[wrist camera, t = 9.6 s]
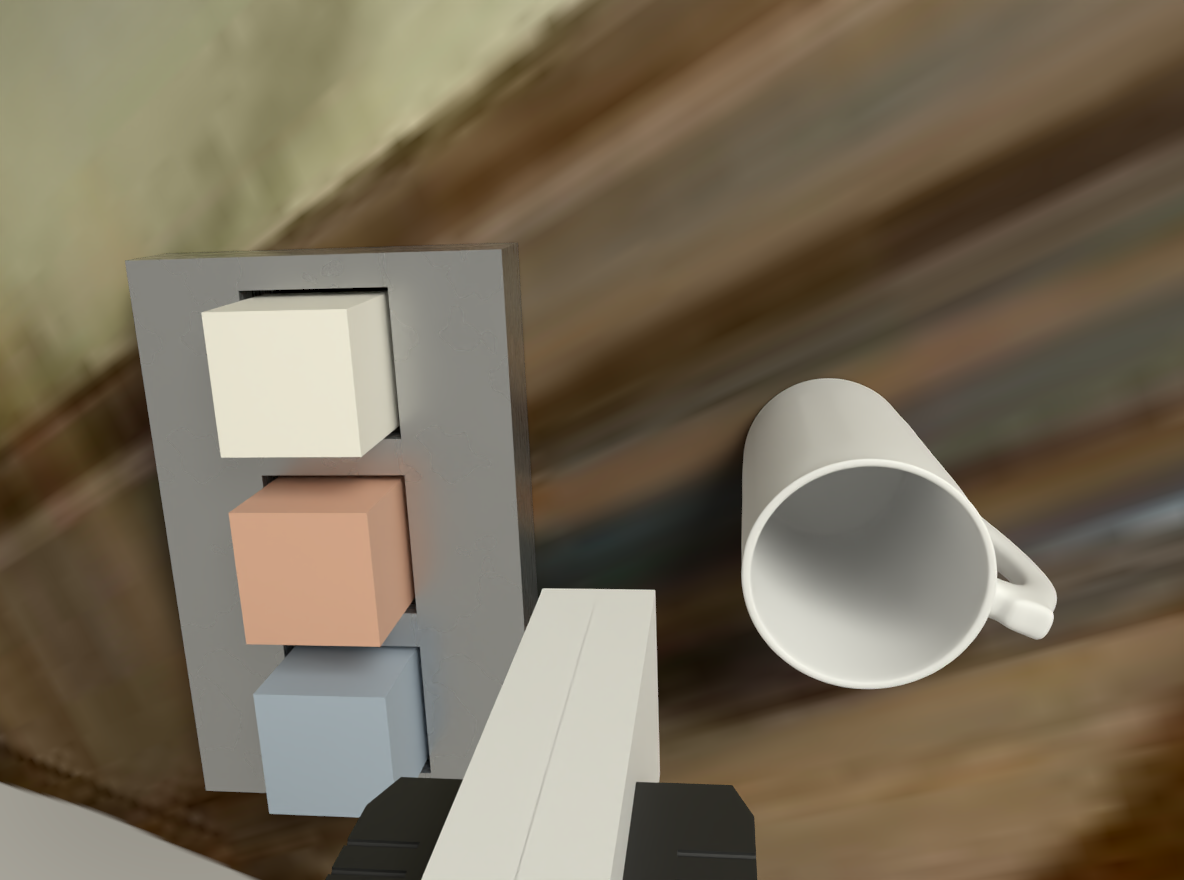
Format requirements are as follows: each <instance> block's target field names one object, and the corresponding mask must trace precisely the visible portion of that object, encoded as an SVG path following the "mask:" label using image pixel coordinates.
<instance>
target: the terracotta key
mask: <svg viewBox="0 0 1184 880" xmlns="http://www.w3.org/2000/svg"><path fill="white" fill-rule="evenodd" d="M229 520H230V528H231V535H232V542H233V550H234V557H235V564H236V572H237V579H238V587H239V594H240V601H241V609H242V616H243V623H244V631H245V638H246V644H260V645H312V646H363V647H381V645H382V644H383V642H384V641H385V639H386V638H387V637H388V635H389V634H390V632H391V631H392V629H393V628H394V627H395V625H396V624H397V622H398V621H399V619H400V618H401V617H402V615H403V614H404V612H405V611H406V609H407V608H408V607H409V605H410V604H411V602H412V601H413V599H414V598H415V587H414V576H413V565H412V554H411V542H410V531H409V520H408V509H407V498H406V486H405V475H281V476H279V477H278V478H276V479H275V480H274V481H272V482H271V483H269V484H268V485H267V486H265V487H264V488H262V489H261V490H260V491H258V492H257V493H256V494H254V495H253V496H251V497H250V498H249V499H247V500H246V501H244V502H243V503H242V504H240V505H239V506H237V507H236V508H235V509H233V510H232V511H230V512H229Z"/></svg>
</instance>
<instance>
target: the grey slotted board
mask: <svg viewBox="0 0 1184 880" xmlns="http://www.w3.org/2000/svg"><path fill="white" fill-rule="evenodd" d="M125 264H126V270H127V277H128V283H129V290H130V297H131V303H132V310H133V316H134V323H135V329H136V336H137V342H138V349H139V355H140V362H141V368H142V375H143V381H144V388H145V395H146V401H147V408H148V414H149V421H150V427H151V434H152V440H153V447H154V453H155V460H156V466H157V473H158V480H159V486H160V493H161V499H162V506H163V512H164V519H165V525H166V532H167V538H168V545H169V551H170V558H171V565H172V571H173V578H174V584H175V591H176V597H177V604H178V610H179V617H180V623H181V630H182V636H183V643H184V649H185V656H186V663H187V669H188V676H189V682H190V689H191V695H192V702H193V708H194V715H195V721H196V728H197V734H198V741H199V748H200V754H201V761H202V767H203V774H204V780H205V787H206V791H228V792H254V793H266V785H265V778H264V770H263V763H262V756H261V748H260V741H259V734H258V726H257V719H256V712H255V704H254V697H253V694H254V693H255V692H256V690H257V689H258V688H259V687H260V686H261V685H262V684H263V683H264V681H265V680H266V679H267V678H268V677H269V676H270V675H271V673H272V672H273V671H274V670H275V669H276V668H277V667H278V665H279V664H280V663H281V662H282V661H283V660H284V659H285V657H286V656H287V655H288V654H289V653H290V652H291V651H292V649H293V648H294V647H295V646H296V645H260V644H246V638H245V631H244V623H243V616H242V609H241V601H240V594H239V587H238V579H237V572H236V564H235V557H234V550H233V542H232V535H231V528H230V520H229V512H230V511H232V510H233V509H235V508H236V507H237V506H239V505H240V504H242V503H243V502H244V501H246V500H247V499H249V498H250V497H251V496H253V495H254V494H256V493H257V492H258V491H260V490H261V489H262V488H264V487H265V486H267V485H268V484H269V483H271V482H272V481H274V480H275V479H276V478H278V477H279V476H281V475H405V486H406V498H407V509H408V520H409V531H410V542H411V554H412V565H413V576H414V587H415V598H414V599H413V601H412V602H411V604H410V605H409V607H408V608H407V609H406V611H405V612H404V614H403V615H402V617H401V618H400V619H399V621H398V622H397V624H396V625H395V627H394V628H393V629H392V631H391V632H390V634H389V635H388V637H387V638H386V639H385V641H384V642H383V644H382V645H381V646H409V647H420V655H421V666H422V677H423V688H424V699H425V711H426V722H427V733H428V744H429V756H428V758H427V760H426V762H425V764H424V766H423V768H422V770H421V772H420V774H419V776H418V778H443V779H463V778H464V776H465V774H466V771H467V769H468V766H469V764H470V762H471V759H472V757H473V755H474V752H475V750H476V747H477V745H478V743H479V740H480V738H481V735H482V733H483V731H484V728H485V726H486V723H487V721H488V719H489V716H490V714H491V711H492V709H493V707H494V704H495V702H496V699H497V697H498V695H499V692H500V690H501V688H502V685H503V683H504V680H505V678H506V676H507V673H508V671H509V668H510V666H511V664H512V661H513V659H514V656H515V654H516V652H517V649H518V647H519V644H520V642H521V640H522V637H523V635H524V632H525V630H526V628H527V625H528V623H529V621H530V618H531V616H532V613H533V611H534V609H535V606H536V604H537V601H538V593H537V575H536V557H535V540H534V522H533V504H532V487H531V469H530V451H529V434H528V416H527V398H526V381H525V363H524V345H523V327H522V310H521V292H520V274H519V257H518V243H489V244H457V245H425V246H393V247H361V248H328V249H296V250H264V251H232V252H200V253H167V254H161V255H155V256H150V257H144V258H138V259H132V260H126V261H125ZM365 287H388V296H389V307H390V318H391V329H392V341H393V352H394V363H395V374H396V386H397V397H398V408H399V419H400V426H398V427H397V428H396V429H395V430H393V431H392V432H391V433H390V434H389V435H387V436H386V437H385V438H384V439H383V440H381V441H380V442H379V443H378V444H376V445H375V446H374V447H373V448H372V449H370V450H369V451H368V452H367V453H366V454H364V455H363V456H362V457H251V458H221V454H220V447H219V439H218V432H217V425H216V417H215V410H214V403H213V395H212V388H211V381H210V373H209V366H208V359H207V351H206V344H205V336H204V329H203V322H202V314H201V312H204V311H208V310H211V309H215V308H218V307H221V306H225V305H228V304H232V303H235V302H238V301H242V300H245V299H249V298H252V297H255V296H259V295H262V294H271V293H274V290H288V289H327V288H365Z"/></svg>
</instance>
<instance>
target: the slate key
mask: <svg viewBox="0 0 1184 880" xmlns="http://www.w3.org/2000/svg"><path fill="white" fill-rule="evenodd" d="M253 697H254V704H255V712H256V719H257V726H258V734H259V741H260V748H261V756H262V763H263V770H264V778H265V785H266V793H267V800H268V807H269V814H288V815H312V816H337V817H360V816H361V814H362V812H363V810H364V808H365V807H366V805H367V804H368V803H370V802H371V801H372V800H373V799H374V798H376V797H377V796H378V795H379V794H381V793H382V792H383V791H384V790H386V789H387V788H388V787H389V786H390V785H392V784H393V783H394V782H395V781H397V780H398V779H399V778H400V777H415V778H418V776H419V774H420V772H421V770H422V768H423V766H424V764H425V762H426V760H427V758H428V756H429V744H428V733H427V722H426V711H425V699H424V688H423V677H422V666H421V655H420V647H409V646H381V647H363V646H312V645H296V646H295V647H294V648H293V649H292V651H291V652H290V653H289V654H288V655H287V656H286V657H285V659H284V660H283V661H282V662H281V663H280V664H279V665H278V667H277V668H276V669H275V670H274V671H273V672H272V673H271V675H270V676H269V677H268V678H267V679H266V680H265V681H264V683H263V684H262V685H261V686H260V687H259V688H258V689H257V690H256V692H255V693H254V694H253Z"/></svg>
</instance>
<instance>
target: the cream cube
mask: <svg viewBox="0 0 1184 880" xmlns="http://www.w3.org/2000/svg"><path fill="white" fill-rule="evenodd" d="M201 314H202V322H203V329H204V336H205V344H206V351H207V359H208V366H209V373H210V381H211V388H212V395H213V403H214V410H215V417H216V425H217V432H218V439H219V447H220V454H221V458H251V457H362V456H363V455H364V454H366V453H367V452H368V451H369V450H370V449H372V448H373V447H374V446H375V445H376V444H378V443H379V442H380V441H381V440H383V439H384V438H385V437H386V436H387V435H389V434H390V433H391V432H392V431H393V430H395V429H396V428H397V427H398V426H400V419H399V408H398V397H397V386H396V374H395V363H394V352H393V341H392V329H391V318H390V307H389V296H388V291H350V292H310V293H271V294H262V295H259V296H255V297H252V298H249V299H245V300H242V301H238V302H235V303H232V304H228V305H225V306H221V307H218V308H215V309H211V310H208V311H204V312H201Z"/></svg>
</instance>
